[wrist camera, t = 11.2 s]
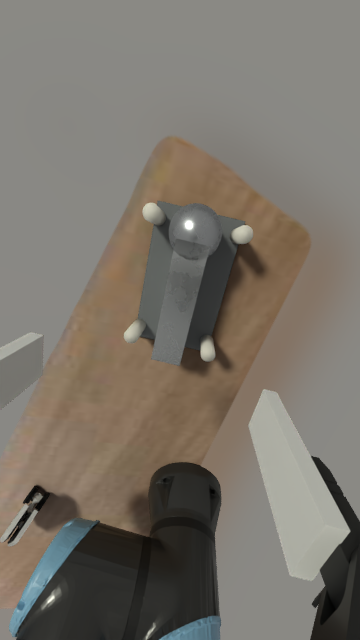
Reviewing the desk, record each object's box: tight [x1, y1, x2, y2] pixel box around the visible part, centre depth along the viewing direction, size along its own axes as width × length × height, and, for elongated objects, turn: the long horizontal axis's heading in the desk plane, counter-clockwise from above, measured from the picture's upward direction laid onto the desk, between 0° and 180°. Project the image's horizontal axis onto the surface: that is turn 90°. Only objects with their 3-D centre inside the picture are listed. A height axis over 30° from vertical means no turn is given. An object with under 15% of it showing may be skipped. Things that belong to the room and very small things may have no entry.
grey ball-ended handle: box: [151, 203, 222, 366], centre depth 30 cm, size 20×6×6 cm, turn 167°
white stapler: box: [0, 486, 50, 546], centre depth 48 cm, size 4×10×15 cm
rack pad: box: [124, 201, 253, 362], centre depth 31 cm, size 20×13×6 cm, turn 167°
